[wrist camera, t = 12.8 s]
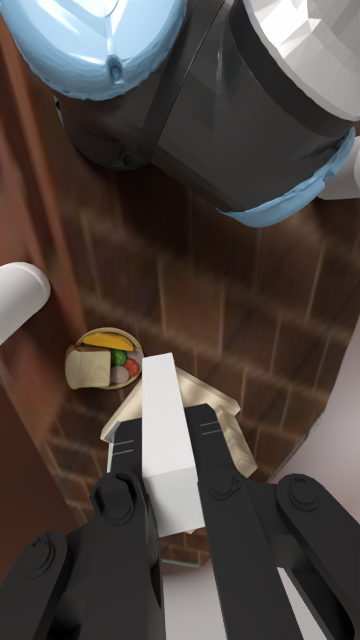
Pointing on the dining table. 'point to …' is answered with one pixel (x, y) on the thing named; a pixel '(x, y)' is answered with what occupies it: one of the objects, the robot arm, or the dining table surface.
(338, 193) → the can
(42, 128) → the dining table surface
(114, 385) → the toy sandwich meal
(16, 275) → the bottle
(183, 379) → the stool
